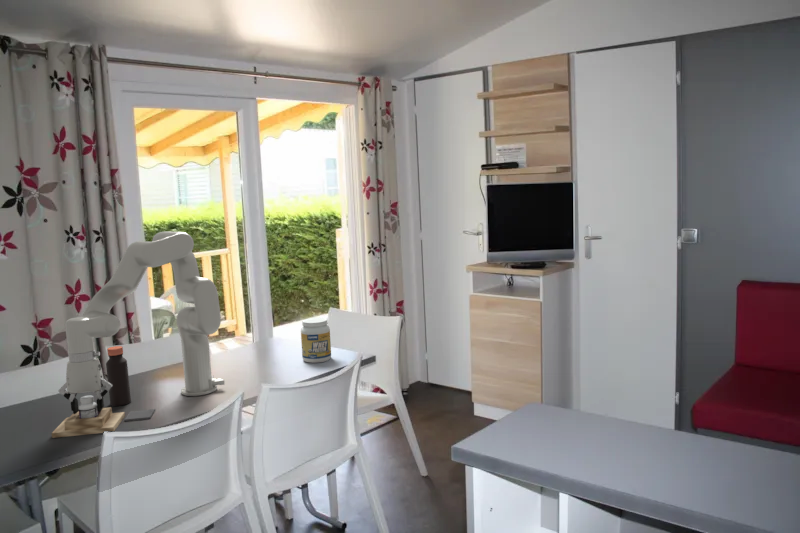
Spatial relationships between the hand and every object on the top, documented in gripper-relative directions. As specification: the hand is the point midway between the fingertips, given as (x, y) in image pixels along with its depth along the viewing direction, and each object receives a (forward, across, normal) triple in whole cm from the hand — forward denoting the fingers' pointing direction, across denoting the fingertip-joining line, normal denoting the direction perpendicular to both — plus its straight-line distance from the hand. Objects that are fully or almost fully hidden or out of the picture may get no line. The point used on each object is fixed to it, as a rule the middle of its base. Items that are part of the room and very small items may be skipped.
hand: (88, 411), depth 210 cm
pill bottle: (+5, 0, 0) cm, 5 cm away
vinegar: (+5, -4, -22) cm, 23 cm away
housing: (+5, 0, 0) cm, 5 cm away
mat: (+5, -14, -6) cm, 16 cm away
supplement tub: (+5, -74, -58) cm, 94 cm away
